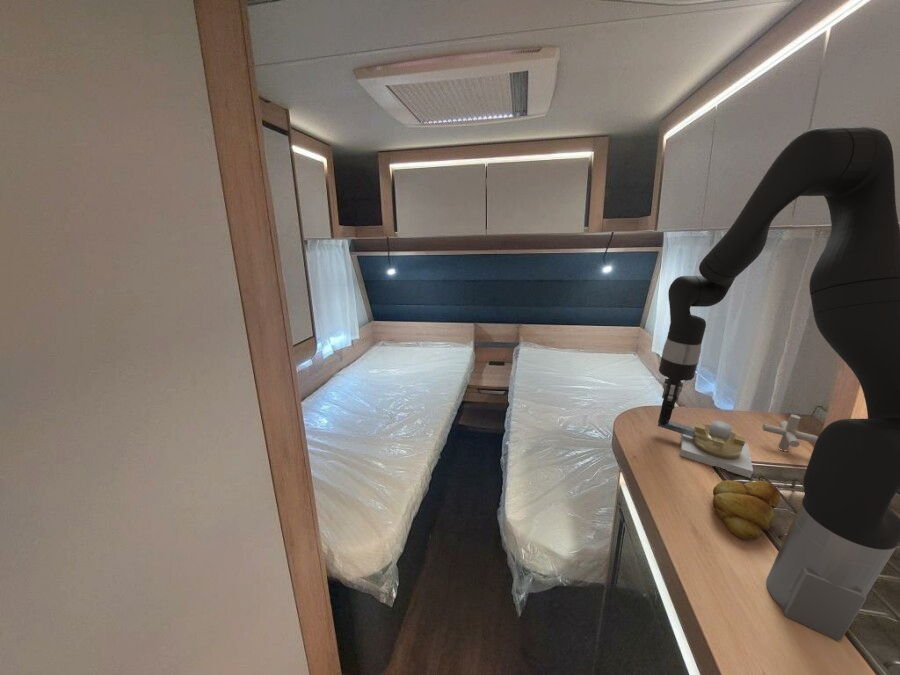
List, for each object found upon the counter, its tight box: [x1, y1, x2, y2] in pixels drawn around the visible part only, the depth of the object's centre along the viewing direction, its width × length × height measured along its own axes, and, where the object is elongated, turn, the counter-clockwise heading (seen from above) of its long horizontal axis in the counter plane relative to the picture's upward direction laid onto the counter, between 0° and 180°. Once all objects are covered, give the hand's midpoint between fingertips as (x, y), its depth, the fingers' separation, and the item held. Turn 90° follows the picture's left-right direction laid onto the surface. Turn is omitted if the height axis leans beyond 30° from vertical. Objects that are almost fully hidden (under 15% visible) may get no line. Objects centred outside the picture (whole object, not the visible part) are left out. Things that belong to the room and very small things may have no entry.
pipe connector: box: [762, 414, 819, 451], centre depth 88 cm, size 10×10×10 cm
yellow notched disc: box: [657, 398, 746, 459], centre depth 89 cm, size 18×10×9 cm, turn 51°
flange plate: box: [679, 420, 754, 479], centre depth 87 cm, size 12×14×8 cm
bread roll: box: [712, 479, 781, 540], centre depth 68 cm, size 13×10×8 cm
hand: (665, 418), depth 90 cm, fingers closed
